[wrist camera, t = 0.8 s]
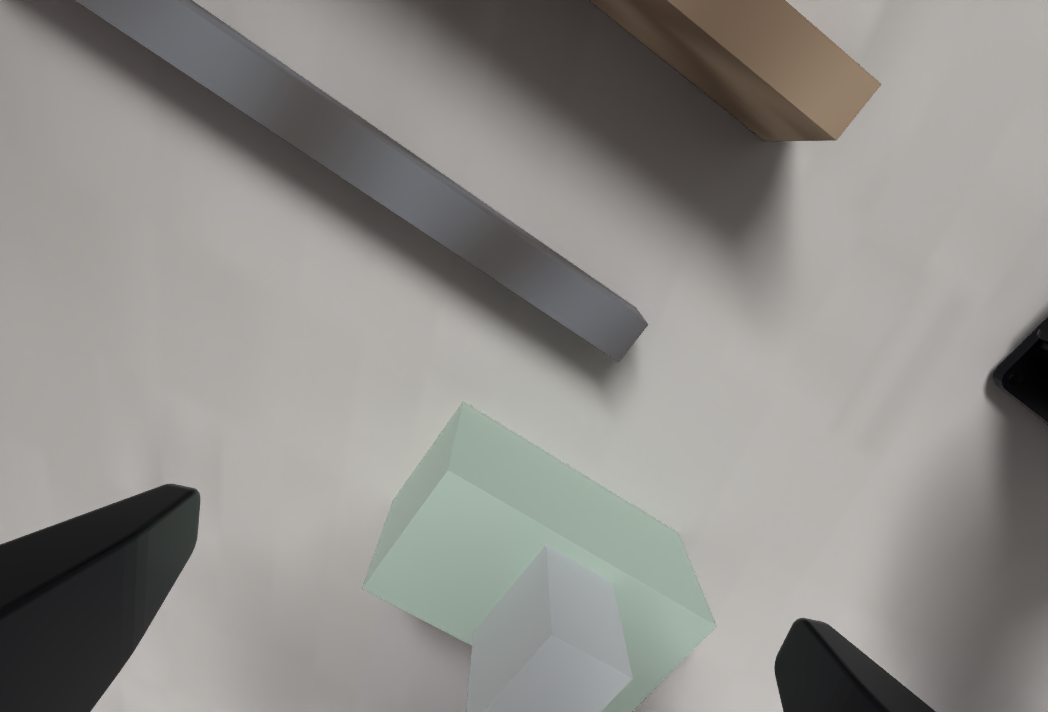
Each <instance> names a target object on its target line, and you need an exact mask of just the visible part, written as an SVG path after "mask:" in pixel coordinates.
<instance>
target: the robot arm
mask: <svg viewBox="0 0 1048 712" xmlns="http://www.w3.org/2000/svg"><path fill="white" fill-rule="evenodd" d="M1013 373H1015V375H1014V377H1013V378H1012V379H1011V380H1009V377H1010V376H1011V375H1012V374H1013ZM993 380H994V383H995V384H996V385H997V386H998V387H999V388H1001V389H1002V390H1003V391H1005V392H1006V393H1007V394H1008V395H1010V396H1011V397H1012V398H1014V399H1015V400H1016V401H1018V402H1019V403H1020V404H1021V405H1023V406H1024V407H1025V408H1027V409H1028V410H1029V411H1030V412H1032V413H1033V414H1034V415H1036V416H1037V417H1038V418H1039V419H1041V420H1042V421H1043V422H1045V423H1046V424H1047V425H1048V318H1047V319H1046V320H1045V321H1044V322H1043V323H1042V324H1041V325H1040V326H1039V327H1038V328H1037V329H1036V330H1035V331H1034V332H1033V333H1032V334H1031V335H1030V336H1029V337H1028V338H1027V339H1026V340H1025V341H1024V342H1023V343H1022V344H1021V345H1020V346H1019V347H1018V348H1017V349H1016V350H1015V351H1014V352H1013V353H1012V354H1011V355H1010V356H1009V357H1007V358H1006V359H1005V360H1004V361H1003V362H1002V363H1001V364H1000V365H999V366H998V368H997V369H996V370H995V372H994V375H993ZM199 510H200V494H199V492H198V491H197V490H196V489H195V488H190V487H185V486H181V485H176V484H166V485H162V486H160V487H157V488H154V489H151V490H149V491H146V492H143V493H140V494H138V495H135V496H132V497H130V498H127V499H124V500H121V501H119V502H116V503H113V504H110V505H108V506H105V507H102V508H99V509H97V510H94V511H91V512H88V513H86V514H83V515H80V516H77V517H75V518H72V519H69V520H67V521H64V522H61V523H58V524H56V525H53V526H50V527H47V528H45V529H42V530H39V531H36V532H34V533H31V534H28V535H25V536H23V537H20V538H17V539H14V540H12V541H9V542H6V543H4V544H1V545H0V712H90V711H91V710H92V709H93V707H94V706H95V705H96V703H97V702H98V701H99V699H100V698H101V696H102V695H103V694H104V692H105V691H106V690H107V688H108V687H109V686H110V684H111V683H112V681H113V680H114V679H115V677H116V676H117V675H118V673H119V672H120V671H121V669H122V668H123V666H124V665H125V663H126V662H127V661H128V659H129V658H130V656H131V655H132V653H133V652H134V650H135V649H136V647H137V645H138V644H139V642H140V641H141V639H142V637H143V636H144V634H145V632H146V631H147V629H148V627H149V626H150V624H151V622H152V620H153V619H154V617H155V615H156V614H157V612H158V610H159V609H160V607H161V605H162V603H163V602H164V600H165V598H166V597H167V595H168V593H169V592H170V590H171V588H172V587H173V585H174V583H175V581H176V580H177V578H178V576H179V575H180V573H181V571H182V570H183V568H184V566H185V564H186V563H187V561H188V559H189V558H190V556H191V554H192V552H193V550H194V547H195V544H196V541H197V534H198V522H199ZM775 676H776V681H777V685H778V690H779V694H780V698H781V703H782V707H783V711H784V712H935V711H934V710H933V709H932V708H931V707H929V706H928V705H927V704H926V703H924V702H923V701H922V700H921V699H919V698H918V697H917V696H916V695H915V694H913V693H912V692H911V691H910V690H908V689H907V688H906V687H905V686H903V685H902V684H901V683H900V682H899V681H897V680H896V679H895V678H894V677H892V676H891V675H890V674H889V673H887V672H886V671H885V670H884V669H883V668H881V667H880V666H879V665H878V664H876V663H875V662H874V661H873V660H872V659H870V658H869V657H868V656H867V655H865V654H864V653H863V652H862V651H860V650H859V649H858V648H857V647H856V646H854V645H853V644H852V643H851V642H849V641H848V640H847V639H846V638H844V637H843V636H842V635H841V634H840V633H838V632H837V631H836V630H835V629H833V628H832V627H831V626H830V625H828V624H826V623H824V622H821V621H816V620H811V619H806V618H799V619H797V620H796V621H795V622H794V623H793V625H792V627H791V629H790V631H789V633H788V634H787V636H786V638H785V640H784V642H783V644H782V646H781V648H780V650H779V652H778V654H777V657H776V660H775Z"/></svg>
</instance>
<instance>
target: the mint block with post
mask: <svg viewBox="0 0 1048 712" xmlns="http://www.w3.org/2000/svg"><path fill="white" fill-rule="evenodd" d="M362 589H363V590H365V591H367V592H369V593H371V594H373V595H375V596H377V597H379V598H380V599H382V600H384V601H386V602H388V603H390V604H392V605H394V606H396V607H398V608H400V609H402V610H404V611H406V612H407V613H409V614H411V615H413V616H415V617H417V618H419V619H421V620H423V621H425V622H427V623H429V624H431V625H432V626H434V627H436V628H438V629H440V630H442V631H444V632H446V633H448V634H450V635H452V636H454V637H456V638H458V639H459V640H461V641H463V642H465V643H467V644H469V645H471V646H472V652H471V663H470V673H469V684H468V694H467V705H466V712H632V711H633V710H634V709H635V708H636V707H637V706H638V705H639V704H640V703H641V702H642V701H643V700H644V699H645V698H646V697H647V696H648V695H649V694H650V693H651V692H652V691H653V690H654V689H655V688H656V687H657V686H658V685H659V684H660V683H661V682H662V681H663V680H664V679H665V678H666V677H667V676H668V675H669V674H670V673H671V672H672V671H673V670H674V669H675V668H676V667H677V666H678V665H679V664H680V663H681V662H682V661H683V660H684V659H685V658H686V657H687V656H688V655H689V654H690V653H691V652H692V651H693V650H694V649H695V648H696V647H697V646H698V645H699V644H700V643H701V642H702V641H703V640H704V639H705V638H706V637H707V636H708V635H709V634H710V633H711V632H712V631H713V630H714V629H715V628H716V627H717V625H716V623H715V620H714V618H713V616H712V613H711V611H710V608H709V606H708V603H707V601H706V598H705V596H704V594H703V591H702V589H701V586H700V584H699V581H698V579H697V576H696V574H695V571H694V569H693V567H692V564H691V562H690V559H689V557H688V554H687V552H686V549H685V547H684V545H683V542H682V540H681V537H680V535H679V532H677V531H676V530H674V529H672V528H671V527H669V526H667V525H666V524H664V523H662V522H661V521H659V520H658V519H656V518H654V517H653V516H651V515H649V514H648V513H646V512H644V511H643V510H641V509H640V508H638V507H636V506H635V505H633V504H631V503H630V502H628V501H626V500H625V499H623V498H622V497H620V496H618V495H617V494H615V493H613V492H612V491H610V490H608V489H607V488H605V487H604V486H602V485H600V484H599V483H597V482H595V481H594V480H592V479H590V478H589V477H587V476H585V475H584V474H582V473H581V472H579V471H577V470H576V469H574V468H572V467H571V466H569V465H567V464H566V463H564V462H563V461H561V460H559V459H558V458H556V457H554V456H553V455H551V454H549V453H548V452H546V451H545V450H543V449H541V448H540V447H538V446H536V445H535V444H533V443H531V442H530V441H528V440H527V439H525V438H523V437H522V436H520V435H518V434H517V433H515V432H513V431H512V430H510V429H509V428H507V427H505V426H504V425H502V424H500V423H499V422H497V421H495V420H494V419H492V418H491V417H489V416H487V415H486V414H484V413H482V412H481V411H479V410H477V409H476V408H474V407H473V406H471V405H469V404H468V403H466V402H464V401H463V402H462V404H461V405H460V406H459V408H458V409H457V411H456V412H455V413H454V415H453V416H452V418H451V419H450V421H449V422H448V423H447V425H446V426H445V428H444V429H443V430H442V432H441V433H440V435H439V436H438V437H437V439H436V440H435V442H434V443H433V445H432V446H431V447H430V449H429V450H428V452H427V453H426V454H425V456H424V457H423V459H422V460H421V462H420V463H419V464H418V466H417V467H416V469H415V470H414V471H413V473H412V474H411V476H410V477H409V479H408V480H407V481H406V483H405V484H404V486H403V487H402V488H401V490H400V491H399V493H398V494H397V495H396V497H395V498H394V500H393V502H392V505H391V508H390V511H389V513H388V516H387V519H386V522H385V525H384V528H383V530H382V533H381V536H380V539H379V542H378V544H377V547H376V550H375V553H374V556H373V558H372V561H371V564H370V567H369V570H368V572H367V575H366V578H365V581H364V584H363V587H362Z"/></svg>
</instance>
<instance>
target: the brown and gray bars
mask: <svg viewBox="0 0 1048 712" xmlns="http://www.w3.org/2000/svg"><path fill="white" fill-rule="evenodd" d="M75 1H77V2H78V3H80V4H81V5H83V6H84V7H86V8H87V9H89V10H90V11H92V12H93V13H95V14H96V15H98V16H99V17H101V18H102V19H104V20H105V21H107V22H108V23H110V24H111V25H113V26H114V27H116V28H117V29H119V30H120V31H122V32H123V33H125V34H126V35H128V36H129V37H131V38H132V39H134V40H135V41H137V42H138V43H140V44H141V45H143V46H144V47H146V48H147V49H149V50H150V51H152V52H153V53H155V54H156V55H158V56H159V57H161V58H162V59H164V60H165V61H167V62H168V63H170V64H171V65H173V66H174V67H176V68H177V69H179V70H180V71H182V72H183V73H185V74H186V75H188V76H189V77H191V78H192V79H194V80H195V81H197V82H198V83H200V84H201V85H203V86H204V87H206V88H207V89H209V90H210V91H212V92H213V93H215V94H216V95H218V96H219V97H221V98H222V99H224V100H225V101H227V102H228V103H230V104H231V105H233V106H234V107H236V108H237V109H239V110H240V111H242V112H243V113H245V114H246V115H248V116H249V117H251V118H252V119H254V120H255V121H257V122H258V123H260V124H261V125H263V126H264V127H266V128H267V129H269V130H270V131H272V132H273V133H275V134H276V135H278V136H279V137H281V138H282V139H284V140H285V141H287V142H288V143H290V144H291V145H293V146H294V147H296V148H297V149H299V150H300V151H302V152H304V153H305V154H307V155H308V156H310V157H311V158H313V159H314V160H316V161H317V162H319V163H320V164H322V165H323V166H325V167H326V168H328V169H329V170H331V171H332V172H334V173H335V174H337V175H338V176H340V177H341V178H343V179H344V180H346V181H347V182H349V183H350V184H352V185H353V186H355V187H356V188H358V189H359V190H361V191H362V192H364V193H365V194H367V195H368V196H370V197H371V198H373V199H374V200H376V201H377V202H379V203H380V204H382V205H383V206H385V207H386V208H388V209H389V210H391V211H392V212H394V213H395V214H397V215H398V216H400V217H401V218H403V219H404V220H406V221H407V222H409V223H410V224H412V225H413V226H415V227H416V228H418V229H419V230H421V231H422V232H424V233H425V234H427V235H428V236H430V237H431V238H433V239H434V240H436V241H437V242H439V243H440V244H442V245H443V246H445V247H446V248H448V249H449V250H451V251H452V252H454V253H455V254H457V255H458V256H460V257H461V258H463V259H464V260H466V261H467V262H469V263H470V264H472V265H473V266H475V267H476V268H478V269H479V270H481V271H482V272H484V273H485V274H487V275H488V276H490V277H491V278H493V279H494V280H496V281H497V282H499V283H500V284H502V285H503V286H505V287H506V288H508V289H509V290H511V291H512V292H514V293H515V294H517V295H518V296H520V297H521V298H523V299H524V300H526V301H527V302H529V303H530V304H532V305H533V306H535V307H536V308H538V309H539V310H541V311H542V312H544V313H545V314H547V315H548V316H550V317H551V318H553V319H554V320H556V321H557V322H559V323H560V324H562V325H563V326H565V327H566V328H568V329H570V330H571V331H573V332H574V333H576V334H577V335H579V336H580V337H582V338H583V339H585V340H586V341H588V342H589V343H591V344H592V345H594V346H595V347H597V348H598V349H600V350H601V351H603V352H604V353H606V354H607V355H609V356H610V357H612V358H613V359H615V360H616V361H618V362H619V361H620V360H621V359H622V358H623V356H624V355H625V354H626V352H627V351H628V350H629V349H630V347H631V346H632V345H633V344H634V342H635V341H636V340H637V338H638V337H639V336H640V335H641V333H642V332H643V331H644V329H645V328H646V327H647V326H648V324H647V322H646V321H645V319H644V318H643V317H642V315H641V314H640V312H639V311H638V310H637V308H636V307H634V306H633V305H631V304H630V303H628V302H627V301H625V300H624V299H623V298H621V297H620V296H618V295H617V294H615V293H614V292H612V291H611V290H610V289H608V288H607V287H605V286H604V285H602V284H601V283H599V282H598V281H597V280H595V279H594V278H592V277H591V276H589V275H588V274H586V273H585V272H584V271H582V270H581V269H579V268H578V267H576V266H575V265H573V264H572V263H571V262H569V261H568V260H566V259H565V258H563V257H562V256H560V255H559V254H558V253H556V252H555V251H553V250H552V249H550V248H549V247H547V246H546V245H545V244H543V243H542V242H540V241H539V240H537V239H536V238H534V237H533V236H532V235H530V234H529V233H527V232H526V231H524V230H523V229H521V228H520V227H519V226H517V225H516V224H514V223H513V222H511V221H510V220H508V219H507V218H506V217H504V216H503V215H501V214H500V213H498V212H497V211H495V210H494V209H493V208H491V207H490V206H488V205H487V204H485V203H484V202H482V201H481V200H480V199H478V198H477V197H475V196H474V195H472V194H471V193H469V192H468V191H467V190H465V189H464V188H462V187H461V186H459V185H458V184H456V183H455V182H454V181H452V180H451V179H449V178H448V177H446V176H445V175H443V174H442V173H441V172H439V171H438V170H436V169H435V168H433V167H432V166H430V165H429V164H428V163H426V162H425V161H423V160H422V159H420V158H419V157H417V156H416V155H415V154H413V153H412V152H410V151H409V150H407V149H406V148H404V147H403V146H402V145H400V144H399V143H397V142H396V141H394V140H393V139H391V138H390V137H389V136H387V135H386V134H384V133H383V132H381V131H380V130H378V129H377V128H376V127H374V126H373V125H371V124H370V123H368V122H367V121H365V120H364V119H363V118H361V117H360V116H358V115H357V114H355V113H354V112H352V111H351V110H350V109H348V108H347V107H345V106H344V105H342V104H341V103H339V102H338V101H337V100H335V99H334V98H332V97H331V96H329V95H328V94H326V93H325V92H324V91H322V90H321V89H319V88H318V87H316V86H315V85H313V84H312V83H311V82H309V81H308V80H306V79H305V78H303V77H302V76H300V75H299V74H298V73H296V72H295V71H293V70H292V69H290V68H289V67H287V66H286V65H285V64H283V63H282V62H280V61H279V60H277V59H276V58H274V57H273V56H272V55H270V54H269V53H267V52H266V51H264V50H263V49H261V48H260V47H259V46H257V45H256V44H254V43H253V42H251V41H250V40H248V39H247V38H246V37H244V36H243V35H241V34H240V33H238V32H237V31H235V30H234V29H233V28H231V27H230V26H228V25H227V24H225V23H224V22H222V21H221V20H220V19H218V18H217V17H215V16H214V15H212V14H211V13H209V12H208V11H207V10H205V9H204V8H202V7H201V6H199V5H198V4H196V3H195V2H194V1H192V0H75ZM589 1H591V2H592V3H593V4H594V5H596V6H597V7H598V8H599V9H601V10H602V11H603V12H604V13H606V14H607V15H608V16H609V17H611V18H612V19H613V20H614V21H616V22H617V23H618V24H619V25H620V26H622V27H623V28H624V29H625V30H627V31H628V32H629V33H630V34H632V35H633V36H634V37H635V38H637V39H638V40H639V41H640V42H642V43H643V44H644V45H645V46H647V47H648V48H649V49H650V50H652V51H653V52H654V53H655V54H657V55H658V56H659V57H660V58H662V59H663V60H664V61H665V62H667V63H668V64H669V65H670V66H672V67H673V68H674V69H675V70H677V71H678V72H679V73H680V74H682V75H683V76H684V77H685V78H687V79H688V80H689V81H690V82H692V83H693V84H694V85H695V86H697V87H698V88H699V89H700V90H702V91H703V92H704V93H705V94H707V95H708V96H709V97H710V98H712V99H713V100H714V101H715V102H716V103H718V104H719V105H720V106H721V107H723V108H724V109H725V110H726V111H728V112H729V113H730V114H731V115H733V116H734V117H735V118H736V119H738V120H739V121H740V122H741V123H743V124H744V125H745V126H746V127H748V128H749V129H750V130H751V131H753V132H754V133H755V134H756V135H758V136H759V137H760V138H761V139H763V140H764V141H823V140H837V139H838V138H839V136H840V135H841V134H842V133H843V131H844V130H845V129H846V128H847V127H848V125H849V124H850V123H851V122H852V120H853V119H854V118H855V117H856V115H857V114H858V113H859V112H860V110H861V109H862V108H863V107H864V105H865V104H866V103H867V102H868V100H869V99H870V98H871V97H872V95H873V94H874V93H875V92H876V91H877V89H878V88H879V87H880V86H881V83H880V82H878V81H877V80H876V79H875V78H874V77H873V76H871V75H870V74H869V73H868V72H867V71H866V70H865V69H863V68H862V67H861V66H860V65H859V64H858V63H857V62H855V61H854V60H853V59H852V58H851V57H850V56H849V55H847V54H846V53H845V52H844V51H843V50H842V49H840V48H839V47H838V46H837V45H836V44H835V43H834V42H832V41H831V40H830V39H829V38H828V37H827V36H826V35H824V34H823V33H822V32H821V31H820V30H819V29H817V28H816V27H815V26H814V25H813V24H812V23H811V22H809V21H808V20H807V19H806V18H805V17H804V16H803V15H801V14H800V13H799V12H798V11H797V10H796V9H794V8H793V7H792V6H791V5H790V4H789V3H788V2H786V1H785V0H589Z"/></svg>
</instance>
